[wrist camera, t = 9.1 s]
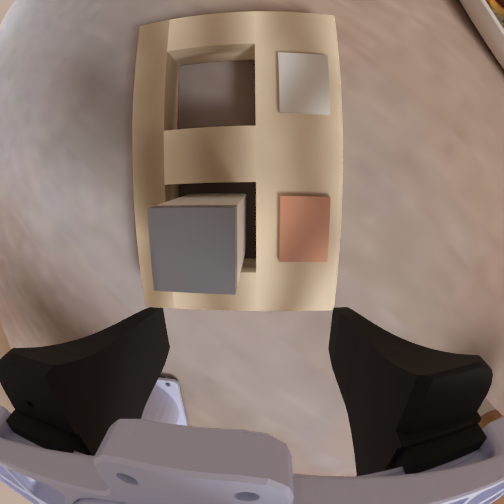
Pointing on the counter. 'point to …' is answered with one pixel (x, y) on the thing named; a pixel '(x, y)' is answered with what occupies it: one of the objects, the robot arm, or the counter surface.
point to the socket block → (249, 151)
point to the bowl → (488, 23)
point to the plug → (198, 243)
